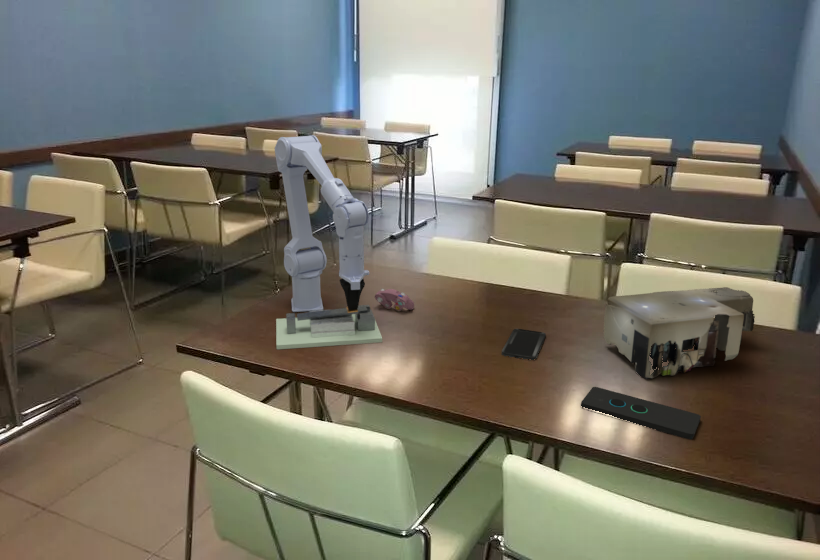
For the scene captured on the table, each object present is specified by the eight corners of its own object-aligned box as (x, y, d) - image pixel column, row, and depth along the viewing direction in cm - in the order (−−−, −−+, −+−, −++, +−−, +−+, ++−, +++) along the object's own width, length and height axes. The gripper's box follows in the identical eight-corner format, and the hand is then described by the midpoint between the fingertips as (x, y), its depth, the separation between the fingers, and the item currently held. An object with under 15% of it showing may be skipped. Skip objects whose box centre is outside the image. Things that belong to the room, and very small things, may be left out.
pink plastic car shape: (376, 311, 171) (370, 293, 167) (384, 300, 174) (378, 281, 169) (409, 318, 167) (404, 299, 162) (416, 306, 170) (411, 287, 165)
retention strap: (297, 315, 153) (296, 312, 152) (365, 307, 156) (365, 304, 155) (297, 320, 150) (297, 317, 150) (367, 312, 153) (367, 309, 152)
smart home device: (593, 384, 128) (701, 414, 117) (592, 392, 128) (700, 422, 118) (580, 402, 121) (693, 434, 111) (579, 410, 122) (691, 443, 111)
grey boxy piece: (778, 365, 139) (788, 306, 136) (646, 382, 132) (652, 321, 128) (720, 335, 156) (727, 282, 153) (599, 348, 149) (604, 293, 145)
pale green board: (276, 322, 159) (276, 318, 159) (372, 316, 164) (372, 313, 163) (276, 349, 144) (276, 345, 144) (382, 342, 149) (382, 338, 148)
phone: (546, 332, 153) (535, 358, 140) (546, 337, 154) (535, 362, 140) (513, 328, 156) (500, 352, 143) (513, 332, 156) (499, 356, 143)
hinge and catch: (286, 325, 155) (286, 309, 153) (371, 320, 159) (371, 304, 157) (287, 335, 149) (286, 319, 148) (374, 330, 153) (374, 313, 151)
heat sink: (309, 321, 157) (309, 309, 156) (350, 318, 159) (350, 307, 158) (311, 337, 148) (311, 325, 147) (354, 334, 150) (354, 322, 149)
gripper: (373, 262, 143) (373, 318, 147) (364, 245, 156) (365, 297, 161) (341, 263, 142) (342, 320, 146) (335, 246, 155) (337, 299, 159)
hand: (352, 308), depth 153 cm, fingers closed, pressing on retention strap
